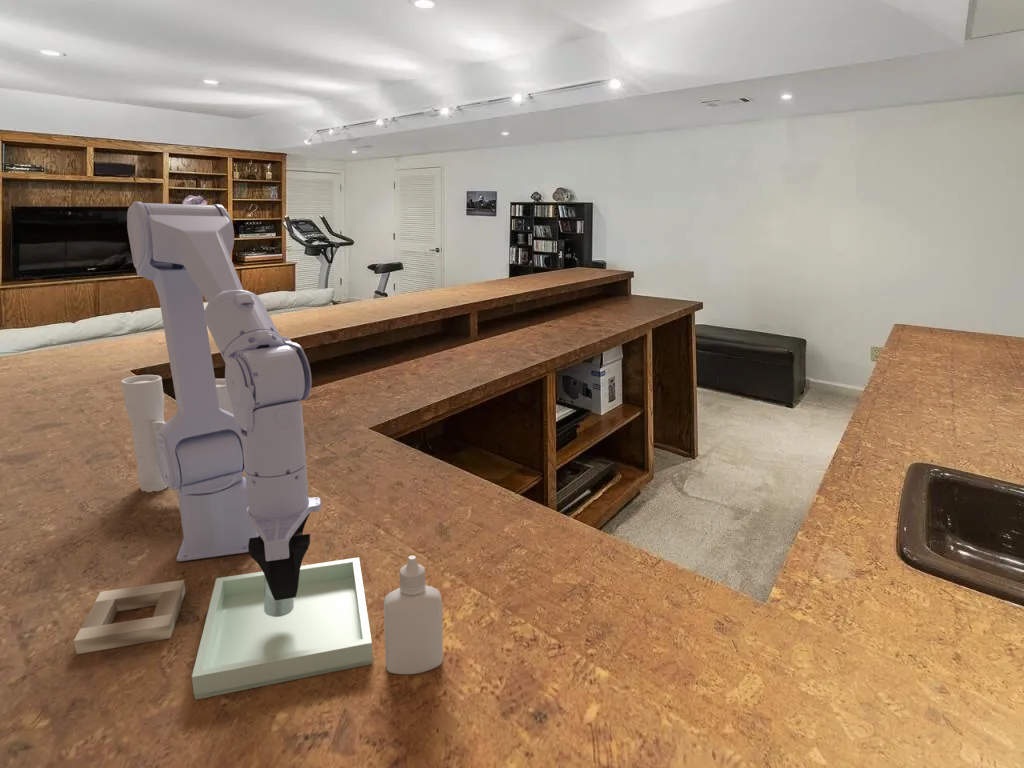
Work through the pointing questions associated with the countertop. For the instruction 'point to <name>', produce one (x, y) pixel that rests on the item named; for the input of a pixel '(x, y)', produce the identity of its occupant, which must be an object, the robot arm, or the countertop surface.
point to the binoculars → (153, 423)
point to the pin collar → (106, 635)
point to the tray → (283, 630)
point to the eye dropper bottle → (413, 623)
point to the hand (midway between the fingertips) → (286, 584)
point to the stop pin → (277, 606)
